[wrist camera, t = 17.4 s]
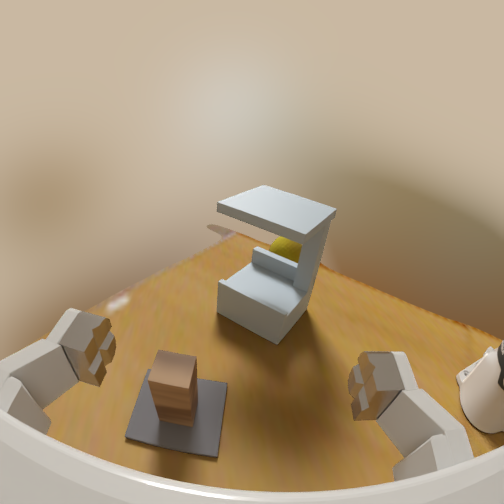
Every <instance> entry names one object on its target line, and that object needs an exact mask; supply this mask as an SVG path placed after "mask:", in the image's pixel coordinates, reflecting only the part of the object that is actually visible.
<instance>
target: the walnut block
mask: <svg viewBox="0 0 504 504" xmlns="http://www.w3.org/2000/svg"><path fill="white" fill-rule="evenodd" d="M148 384H149V388H150V391H151V395H152V398H153V401H154V405H155V408H156V411H157V415H158V418H159V420H160V421H164V422H169V423H174V424H179V425H184V426H189V427H193V423H194V418H195V413H196V408H197V403H198V386H197V359H196V357H195V356H189V355H184V354H178V353H173V352H168V351H163V350H158V352H157V355H156V358H155V360H154V363H153V366H152V369H151V372H150V374H149V377H148Z"/></svg>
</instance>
